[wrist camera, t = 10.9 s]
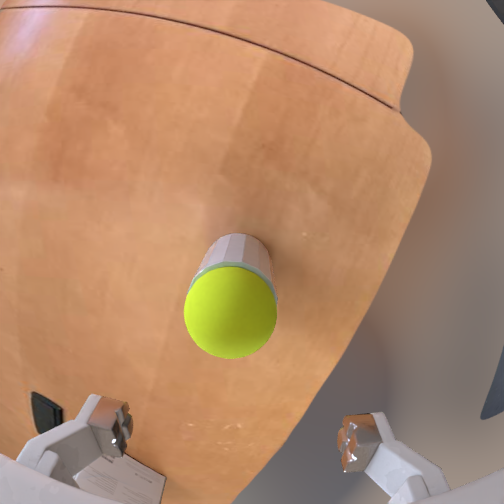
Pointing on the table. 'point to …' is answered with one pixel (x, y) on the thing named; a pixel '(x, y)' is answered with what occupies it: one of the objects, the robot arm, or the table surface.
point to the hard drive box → (122, 480)
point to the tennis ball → (230, 312)
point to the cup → (239, 258)
